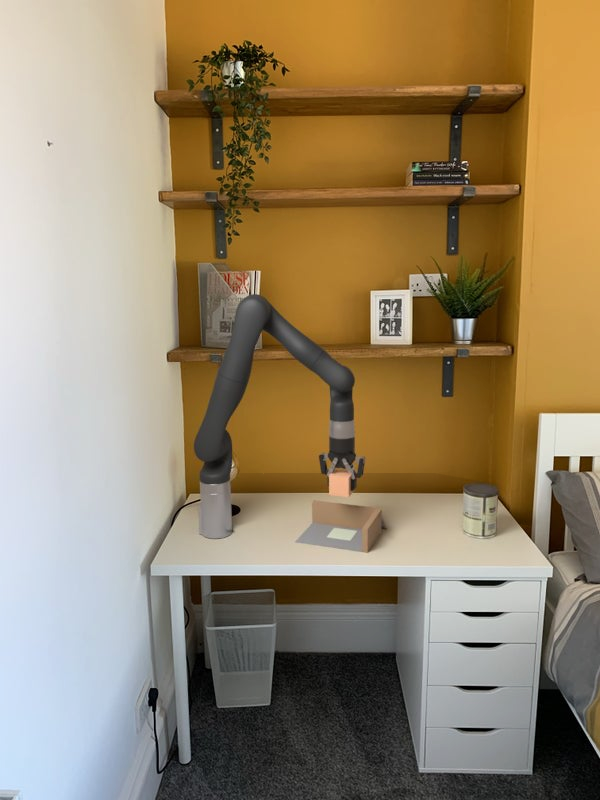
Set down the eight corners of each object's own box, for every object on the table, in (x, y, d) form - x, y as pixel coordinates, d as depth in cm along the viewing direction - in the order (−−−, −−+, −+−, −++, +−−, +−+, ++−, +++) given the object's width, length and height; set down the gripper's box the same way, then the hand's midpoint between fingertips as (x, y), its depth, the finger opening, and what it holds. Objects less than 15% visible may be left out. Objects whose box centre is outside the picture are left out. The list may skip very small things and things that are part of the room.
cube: (329, 494, 183) (329, 475, 182) (335, 488, 189) (335, 469, 188) (348, 497, 181) (348, 477, 180) (354, 490, 187) (354, 471, 186)
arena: (294, 545, 183) (294, 519, 181) (314, 523, 199) (313, 500, 197) (367, 556, 175) (367, 529, 174) (381, 533, 191) (381, 508, 189)
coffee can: (468, 523, 198) (470, 480, 195) (500, 530, 192) (503, 486, 189) (456, 534, 189) (458, 490, 187) (490, 541, 184) (492, 496, 181)
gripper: (314, 435, 181) (315, 490, 184) (362, 439, 176) (362, 495, 179) (322, 429, 188) (323, 482, 191) (369, 433, 183) (368, 487, 186)
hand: (342, 488), depth 185 cm, fingers closed on cube, 6 cm apart
